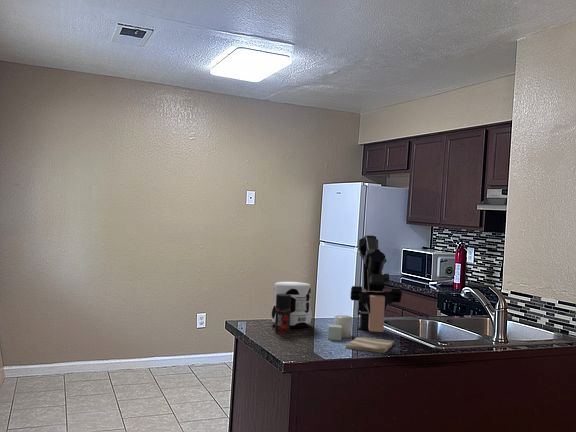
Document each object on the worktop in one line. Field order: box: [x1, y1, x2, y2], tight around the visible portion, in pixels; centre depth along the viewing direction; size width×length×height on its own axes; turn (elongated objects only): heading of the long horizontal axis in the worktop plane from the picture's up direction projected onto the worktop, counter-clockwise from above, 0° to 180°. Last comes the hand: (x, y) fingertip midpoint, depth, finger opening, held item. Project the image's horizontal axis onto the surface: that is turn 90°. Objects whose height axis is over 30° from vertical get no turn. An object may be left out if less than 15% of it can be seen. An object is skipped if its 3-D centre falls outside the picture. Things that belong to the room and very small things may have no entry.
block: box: [327, 324, 343, 341], centre depth 216 cm, size 5×5×5 cm
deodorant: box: [274, 294, 291, 335], centre depth 224 cm, size 6×6×15 cm
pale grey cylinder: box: [333, 314, 353, 338], centre depth 222 cm, size 7×7×8 cm
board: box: [345, 336, 395, 354], centre depth 205 cm, size 16×14×1 cm
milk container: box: [270, 281, 313, 329], centre depth 237 cm, size 17×17×18 cm
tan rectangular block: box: [368, 295, 385, 333], centre depth 204 cm, size 5×5×12 cm
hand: (376, 312), depth 202 cm, fingers closed on tan rectangular block, 5 cm apart
